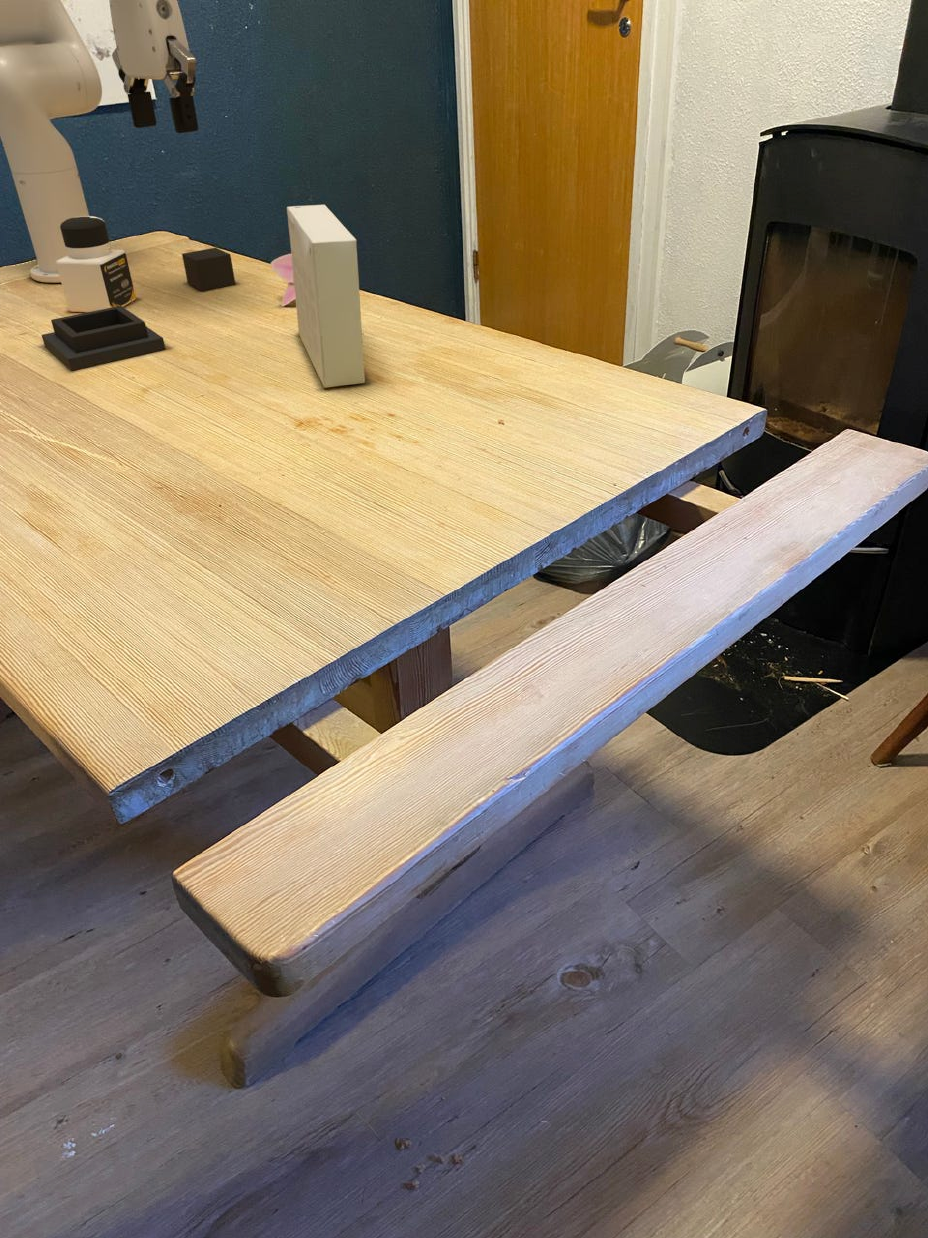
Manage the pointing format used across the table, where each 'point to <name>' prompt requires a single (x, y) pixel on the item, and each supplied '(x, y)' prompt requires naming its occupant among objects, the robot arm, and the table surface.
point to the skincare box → (327, 294)
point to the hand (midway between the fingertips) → (166, 128)
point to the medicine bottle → (93, 267)
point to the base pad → (100, 338)
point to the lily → (285, 276)
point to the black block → (208, 269)
